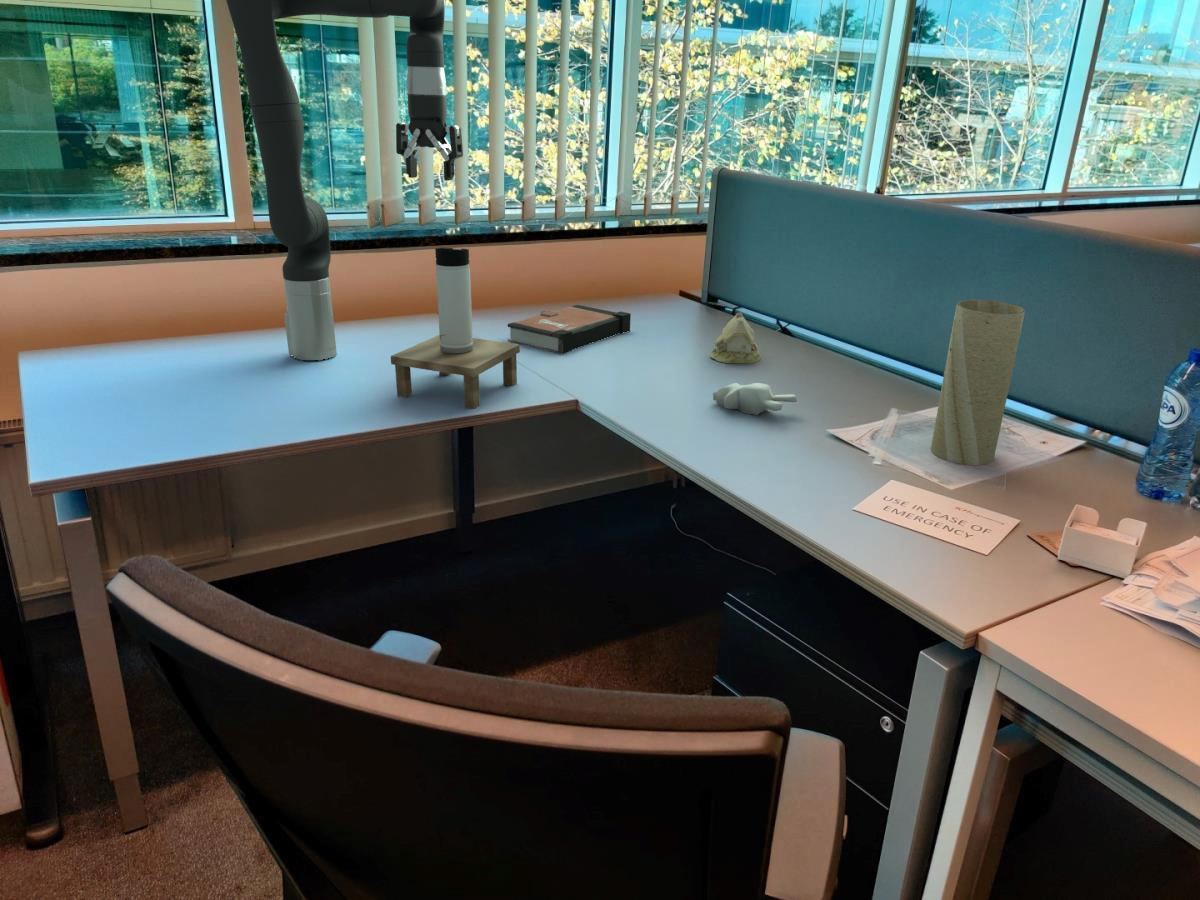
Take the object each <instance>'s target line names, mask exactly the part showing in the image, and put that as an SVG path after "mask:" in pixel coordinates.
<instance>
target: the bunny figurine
mask: <svg viewBox="0 0 1200 900" xmlns="http://www.w3.org/2000/svg"><path fill="white" fill-rule="evenodd" d="M712 397H713V398H712V400H713V401H716V403H717V404H718V405H719V406H720V407H722V408H726V409H730V410H731V409H733V410H739V411H740V412H742V413H744V414H749V415H750V414H751V415H754V416H759V414H760V413H761V412H766V411H767V410H769V411H772V412H778V411H782V408H783V405H784V403H785V402H786V403H797V401H798V400H797V396H796V395H795V394H773V392H772V389H771V386H770V385H769V384H767V383H762V382H753V383H749V384H742V385H741V384H740V383H737V382H733V383H731V384H727V386H724V387H721V388H719V389H718V390H716V391H713V392H712ZM783 402H784V403H783Z"/></svg>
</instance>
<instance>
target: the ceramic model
mask: <svg viewBox="0 0 1200 900" xmlns="http://www.w3.org/2000/svg"><path fill="white" fill-rule="evenodd" d="M755 340H756V337H755V332H754V330H753V328H751V326H750V324H749V322H748V321H747V320H746V318H745V317H744V316H743V313H742V312H740V311H739V312H736V314H735V315H734V316H733V317H732V318H731V319H730V320H729V321H728V322H727V323H726V324H725V326H724V327H723V329H722V332H721V333H720V335H719V336H718V337H717V338H716V339H714V346H715V347H716V348H713V350H712V351H711V355H710V358H712V359H714V360H715V361H717V362H720V363H724V364H753V363H756V362H759V361H760V360H761V358H762V356H761V352H760V349H759V347H758V345H757V344H756V342H755Z"/></svg>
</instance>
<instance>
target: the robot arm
mask: <svg viewBox="0 0 1200 900" xmlns="http://www.w3.org/2000/svg"><path fill="white" fill-rule="evenodd" d="M225 2H226V5H227V8H228V12H229V15H230V18H231V22H232V26H233V28H234V31H235V35H236V38H237V42H238V47H239V51H240V54H241V60H242V61H241V62H242V65H243V73H244V78H245V83H246V86H247V92H248V99H249V105H250V112H251V115H252V121H253V124H254V129H255V133H256V136H257V143H258V148H259V152H260V159H261V163H262V167H263V174H264V179H265V188H266V199H267V209H268V219H269V224H270V228H271V231H272V233H273V235H274V237H275V238H276V239H277V241H278V242H279V243H281V244H282V245H284V246H285V247H287V248H288V249H287V251H288V252H287V257H286V258H285V260H284V263H283V264H282V270H281V271H282V278H283V286H284V293H285V301H286V310H287V311H286V312H284V314H283V316H284V325H285V331H286V340H287V349H288V350H287V351H288V356H289V355H293V356H294V357H295V358H297V359H296V360H298V359H301V360H300V361H303V360H318V361H323V359H325V360H329V359H332V358H333V357H336V356H337V354H338V353H337V342H336V333H335V322H334V321H335V319H334V312H333V311H334V310H333V303H332V301H333V300H332V291H331V283H330V274H329V273H330V272H329V269H330V265H331V258H332V257H331V256H332V255H331V240H330V239H331V237H330V226H329V220H328V216H327V213H326V211H325V209H324V207H323V206H322V205H321V204H320V203H319V202H318V201H317V200H316V199H313V198H310V197H306V196H305V194H304V190H303V185H302V184H303V183H302V178H301V177H302V176H301V165H302V164H301V163H302V155H303V149H304V142H305V141H304V139H305V127H304V119H303V114H302V108H301V104H300V103H301V102H300V99H299V94H298V91H297V87H296V86H295V83H294V80H293V78H292V75H291V73H290V71H289V69H288V67H287V64H286V62H285V60H284V58H283V55H282V51H281V49H280V46H279V41H278V35H277V29H276V25H275V23H276V22H275V20H279V19H280V20H281V19H286V18H291V17H292V18H293V17H298V16H312V15H313V16H314V15H315V16H316V15H317V16H319V15H321V16H332V17H333V16H334V17H335V16H337V17H347V18H348V17H349V18H367V19H368V18H373V19H379V18H387V17H405V18H406V17H407V18H409V35H408V36H407V39H406V66H407V68H406V69H407V71H406V93H407V116H408V117H409V123H408V122H397V123H396V125H395V138H396V139H395V142H396V143H395V146H396V147H395V149H396V150H395V152H396V154H397V155H401V156H403V157H404V158H405V168H406V169H405V170H406V172H405V173H406V174H407V175H408V178H409V179H412V178H413V179H414V178H417V177H418V163H417V162H418V161H417V160H418V159H417V157H416V156H417V154H418V153H419V151H420V150H421V149H422V148H432V149H433V148H435V149H436V151H437V152H439V153H440V154H441V156H442V158H443V163H442V164H443V180H444V181H447V182H448V181H453V178H454V177H455V173H456V172H455V162H456V160H457V159H459V158H463V156H464V151H463V150H464V147H463V137H462V128H461V125H450V126H448V125H447V117H448V110H447V109H448V107H447V106H448V104H447V103H448V102H447V80H446V73H445V72H446V71H445V58H444V43H443V41H444V28H445V13H446V10H445V9H446V8H445V7H446V6H445V4H446V3H445V0H225ZM409 134H411V138H410V140H409ZM446 137H449V141H450V143H449V141H448V139H447V138H446ZM335 355H336V356H335ZM293 356H292V357H293ZM294 357H293V358H294ZM331 357H332V358H331ZM295 358H294V359H295ZM328 358H329V359H328Z"/></svg>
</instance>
